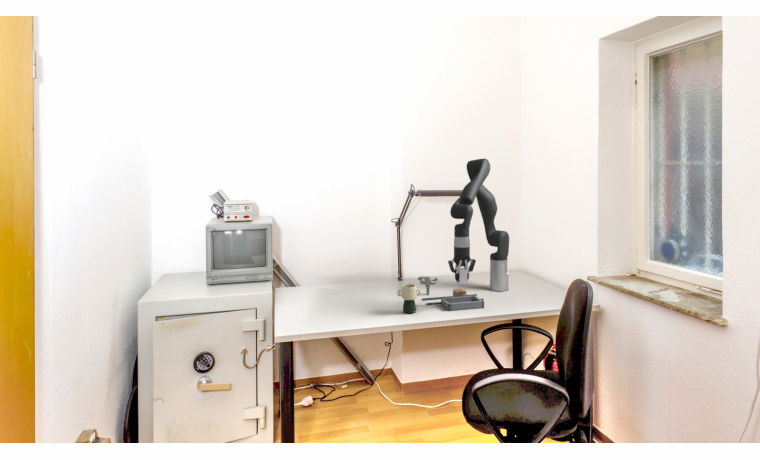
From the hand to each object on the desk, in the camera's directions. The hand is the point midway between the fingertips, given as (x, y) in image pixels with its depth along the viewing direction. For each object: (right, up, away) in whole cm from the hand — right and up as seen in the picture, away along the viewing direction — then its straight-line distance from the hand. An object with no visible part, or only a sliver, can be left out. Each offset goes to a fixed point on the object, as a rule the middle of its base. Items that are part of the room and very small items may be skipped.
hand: (461, 280), depth 204 cm
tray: (0, -13, +2) cm, 13 cm away
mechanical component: (-14, -11, +24) cm, 30 cm away
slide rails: (-2, -12, +12) cm, 17 cm away
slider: (+1, -11, +13) cm, 17 cm away
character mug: (-26, -15, -5) cm, 30 cm away
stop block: (0, -1, 0) cm, 1 cm away
